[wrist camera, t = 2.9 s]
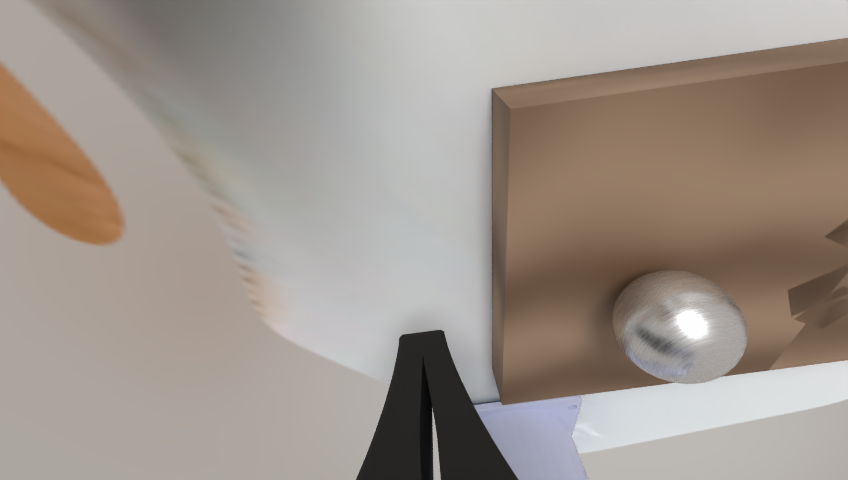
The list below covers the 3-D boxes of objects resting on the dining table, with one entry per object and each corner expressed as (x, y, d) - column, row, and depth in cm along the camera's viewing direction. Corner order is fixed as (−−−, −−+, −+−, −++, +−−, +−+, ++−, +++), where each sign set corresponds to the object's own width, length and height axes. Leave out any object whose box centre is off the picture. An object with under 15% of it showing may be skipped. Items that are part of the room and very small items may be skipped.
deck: (895, 315, 18) (943, 347, 17) (492, 368, 19) (501, 405, 17) (1230, -17, 10) (1391, -16, 8) (492, 88, 10) (510, 108, 9)
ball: (676, 313, 14) (749, 398, 11) (586, 325, 14) (636, 413, 11) (708, 241, 12) (809, 324, 9) (603, 256, 12) (669, 343, 9)
